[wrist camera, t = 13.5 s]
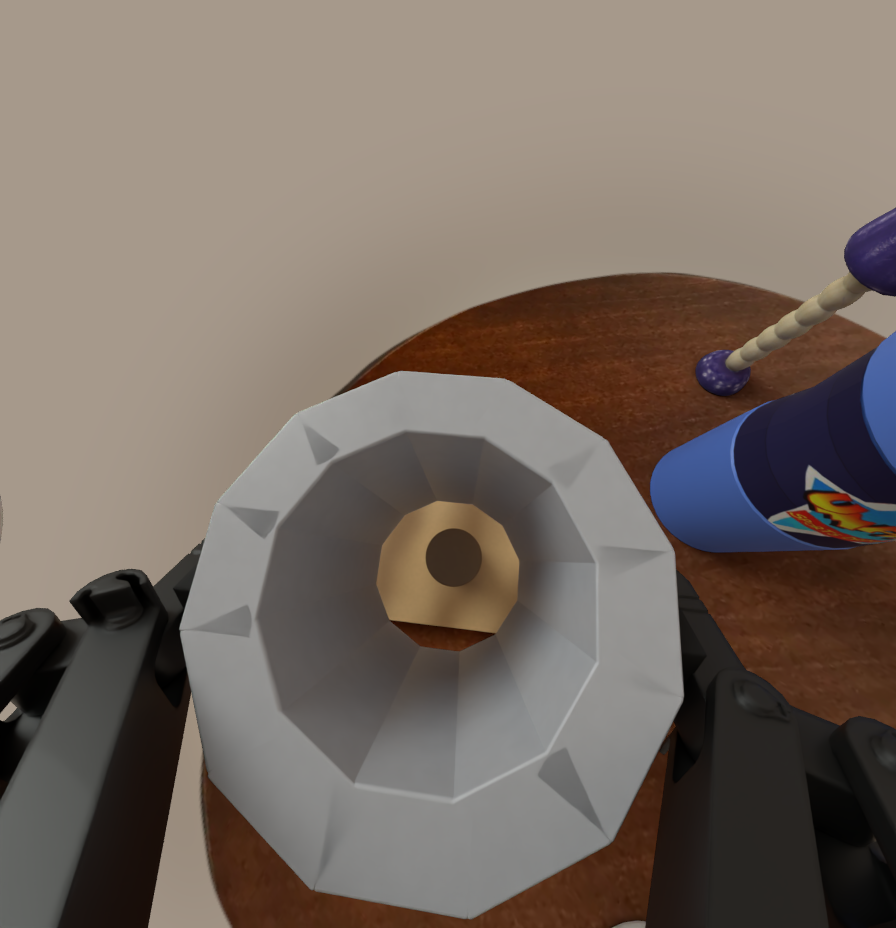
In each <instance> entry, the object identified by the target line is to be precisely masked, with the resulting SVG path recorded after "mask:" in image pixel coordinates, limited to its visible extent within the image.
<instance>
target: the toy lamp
mask: <svg viewBox="0 0 896 928" xmlns="http://www.w3.org/2000/svg"><path fill="white" fill-rule="evenodd" d="M844 259H845V262H846V265H847V267H848V269H849V271H850V272H849V273H848V275H847V276H844V277H842V278H839V279H838V280H836V281H834V282H832V283H831V284H830V285H828V286H827V287H826V288H825V289H824V290H823V291H822V293H821V294H819V295H817V296H814V297H812V298H810V299H809V300H807V301H806V302H805V303H803V304H802V305H801V306H800V307H799V309H798V310H795V311H793V312H791V313H789V314H787V315H786V316H784V317H783V318H782V319H781V320H780V321H779V322H778V323H777V324H775V325H772V326H770V327H768V328H767V329H765V330H764V331H763V332H762V333H761V334H760V335H759V337H756V338H753V339H751V340H750V341H748V342H747V343H746V344H745V345H744V346H743V348H740V349H737V350H736V351H731V350H719V351H715V352H712V353H709V354H707V355H705V356H704V357H703V358H701V360H700V361H699V362H698V364H697V367H696V376H697V379H698V381H699V383H700V384H701V386H702V387H703V388H705V389H706V390H707V391H709V392H711V393H713V394H716V395H721V396H728V395H732V394H735V393H737V392H738V391H740V390H741V389H742V388H743V387H744V386H745V384H746V383H747V381H748V380H749V377H750V370H751V369H750V366H751V365H752V364H753V363H754V362H755V361H757V360H760V359H762V358H764V357H766V356H767V355H768V354H770V353H771V351H773V350H776V349H779V348H781V347H783V346H784V345H786V344H787V343H788V342H789V341H790V340H791V339H793V338H796V337H799V336H801V335H803V334H804V333H806V332H807V331H808V330H810V329H811V328H812V326H813V325H816V324H818V323H821V322H823V321H825V320H826V319H828V318H830V317H831V316H832V315H833V314H834V313H835V312H836V311H837V310H839V309H842V308H845V307H847V306H849V305H851V304H852V303H854V302H855V301H857V300H858V299H859V298H861V296H862V295H863V294H864V293H865V292H868V291H871V290H873V291H876V292H878V293H880V294H882V295H889V296H896V208H894V209H893V210H891V211H889V212H887V213H885V214H884V215H882V216H880V217H878V218H876V219H874V220H873V221H871V222H869V223H868V224H866V225H865V226H863V227H862V228H860V229H859V230H858V231H857V232H855V233H854V234H853V235H852V236H851V238H850V239H849V240H848V243H847V245H846V247H845V251H844Z"/></svg>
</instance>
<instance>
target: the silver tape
mask: <svg viewBox="0 0 896 928" xmlns="http://www.w3.org/2000/svg"><path fill="white" fill-rule="evenodd" d="M436 501H443V502H453V503H463V504H473V505H474V506H476V507H477V508H478V509H480V510H481V511H483V512H484V513H485V514H487V515H488V516H490V517H491V518H493V519H494V520H495V521H497V522H498V523H500V524H501V525H502V526H503V528H504V530H505V532H506V534H507V536H508V538H509V540H510V542H511V544H512V546H513V548H514V550H515V553H516V555H517V557H518V559H519V576H518V596H517V602H516V603H515V605H514V606H513V608H512V609H511V611H510V612H509V614H508V616H507V617H506V619H505V620H504V622H503V623H502V625H501V627H500V628H499V630H498V631H497V633H496V634H495V635H493V636H491V637H489V638H487V639H485V640H483V641H481V642H479V643H476V644H474V645H472V646H470V647H468V648H466V649H464V650H462V651H460V652H458V651H450V650H442V649H435V648H427V647H420V646H419V645H418V644H417V643H416V642H414V641H413V640H412V639H411V638H410V637H408V636H407V635H406V634H405V633H404V632H402V631H401V630H400V629H399V628H398V627H396V626H395V625H394V624H393V623H392V622H390V621H389V618H388V615H387V613H386V610H385V607H384V604H383V601H382V599H381V596H380V593H379V590H378V588H377V585H376V582H377V575H378V569H379V562H380V556H381V549H382V545H383V543H384V542H385V541H386V539H387V538H388V537H389V535H390V534H391V533H392V531H393V530H394V529H395V527H396V526H397V525H398V523H399V522H400V521H401V519H402V518H403V517H404V515H407V514H409V513H411V512H413V511H416V510H418V509H420V508H422V507H425V506H427V505H429V504H431V503H434V502H436ZM179 630H180V631H181V632H180V637H181V642H182V647H183V652H184V657H185V662H186V667H187V672H188V677H189V682H190V687H191V692H192V697H193V702H194V708H195V712H196V718H197V723H198V728H199V733H200V738H201V743H202V748H203V753H204V758H205V763H206V768H207V772H208V773H209V774H208V778H209V779H210V780H211V781H212V782H213V783H214V785H215V786H216V787H217V788H218V789H219V790H220V791H221V792H222V793H223V794H224V795H225V797H226V798H227V799H228V800H229V801H230V802H231V803H232V804H233V805H234V806H235V808H236V809H237V810H238V811H239V812H240V813H241V814H242V815H243V816H244V817H245V818H246V820H247V821H248V822H249V823H250V824H251V825H252V826H253V827H254V828H255V829H256V831H257V832H258V833H259V834H260V835H261V836H262V837H263V838H264V839H265V840H266V841H267V843H268V844H269V845H270V846H271V847H272V848H273V849H274V850H275V851H276V852H277V853H278V855H279V856H280V857H281V858H282V859H283V860H284V861H285V862H286V863H287V864H288V866H289V867H290V868H291V869H292V870H293V871H294V872H295V873H296V874H297V875H298V876H299V878H300V879H301V880H302V881H303V882H304V883H305V884H306V885H307V886H308V887H309V888H310V890H315V891H317V892H322V893H328V894H333V895H339V896H344V897H349V898H355V899H360V900H365V901H371V902H376V903H381V904H387V905H392V906H398V907H403V908H408V909H414V910H419V911H424V912H430V913H435V914H440V915H446V916H451V917H457V918H462V919H468V918H469V919H473V918H475V917H477V916H479V915H481V914H482V913H484V912H486V911H488V910H490V909H492V908H493V907H495V906H497V905H499V904H501V903H503V902H504V901H506V900H508V899H510V898H512V897H514V896H516V895H517V894H519V893H521V892H523V891H525V890H527V889H528V888H530V887H532V886H534V885H536V884H538V883H540V882H541V881H543V880H545V879H547V878H549V877H551V876H552V875H554V874H556V873H558V872H560V871H562V870H563V869H565V868H567V867H569V866H571V865H573V864H575V863H576V862H578V861H580V860H582V859H584V858H586V857H587V856H589V855H591V854H593V853H595V852H597V851H599V850H600V849H602V848H604V847H606V846H608V845H610V844H611V842H613V841H614V839H615V837H616V835H617V833H618V831H619V829H620V827H621V825H622V823H623V821H624V819H625V817H626V815H627V813H628V811H629V809H630V807H631V805H632V803H633V801H634V799H635V797H636V795H637V793H638V791H639V789H640V787H641V785H642V783H643V781H644V779H645V777H646V775H647V773H648V771H649V769H650V767H651V765H652V763H653V761H654V759H655V757H656V755H657V753H658V751H659V749H660V747H661V745H662V743H663V741H664V739H665V737H666V735H667V733H668V731H669V729H670V727H671V725H672V723H673V721H674V719H675V717H676V715H677V713H678V711H679V709H680V707H681V705H682V703H683V698H684V686H683V671H682V655H681V640H680V624H679V609H678V593H677V578H676V562H675V552H674V549H673V547H672V546H671V544H670V542H669V541H668V539H667V537H666V536H665V534H664V532H663V531H662V529H661V528H660V526H659V524H658V523H657V521H656V519H655V518H654V516H653V514H652V513H651V511H650V510H649V508H648V506H647V505H646V503H645V501H644V500H643V498H642V497H641V495H640V493H639V492H638V490H637V488H636V487H635V485H634V483H633V482H632V480H631V479H630V477H629V475H628V474H627V472H626V470H625V469H624V467H623V465H622V464H621V462H620V461H619V459H618V457H617V456H616V454H615V452H614V451H613V449H612V447H611V446H610V444H609V443H608V441H607V440H605V439H604V438H603V437H601V436H599V435H598V434H596V433H594V432H593V431H591V430H590V429H588V428H586V427H585V426H583V425H581V424H580V423H578V422H576V421H575V420H573V419H572V418H570V417H568V416H567V415H565V414H563V413H562V412H560V411H558V410H557V409H555V408H553V407H552V406H550V405H549V404H547V403H545V402H544V401H542V400H540V399H539V398H537V397H535V396H534V395H532V394H531V393H529V392H527V391H526V390H524V389H522V388H521V387H519V386H517V385H516V384H514V383H512V382H511V381H509V380H506V379H502V378H489V377H475V376H462V375H448V374H435V373H421V372H408V371H399V372H395V373H392V374H390V375H387V376H385V377H382V378H380V379H378V380H375V381H373V382H370V383H368V384H365V385H363V386H361V387H358V388H356V389H353V390H351V391H348V392H346V393H344V394H341V395H339V396H336V397H334V398H332V399H329V400H327V401H324V402H322V403H319V404H317V405H315V406H312V407H310V408H307V409H305V410H302V411H300V412H298V413H297V414H295V415H293V417H292V418H291V419H290V420H289V421H288V422H287V423H286V425H285V426H284V427H283V428H282V429H281V430H280V431H279V432H278V433H277V435H276V436H275V437H274V438H273V439H272V440H271V441H270V442H269V443H268V445H267V446H266V447H265V448H264V449H263V450H262V451H261V453H260V454H259V455H258V456H257V457H256V458H255V459H254V460H253V462H252V463H251V464H250V465H249V466H248V467H247V468H246V469H245V471H244V472H243V473H242V474H241V475H240V476H239V477H238V478H237V479H236V480H235V482H234V483H233V484H232V485H231V486H230V487H229V488H228V489H227V491H226V492H225V493H224V494H223V495H222V496H221V497H220V498H219V499H218V501H217V503H216V504H215V507H214V510H213V514H212V517H211V520H210V524H209V528H208V531H207V534H206V538H205V541H204V544H203V548H202V551H201V555H200V558H199V562H198V565H197V569H196V572H195V576H194V579H193V583H192V586H191V590H190V593H189V596H188V600H187V603H186V607H185V610H184V614H183V617H182V621H181V624H180V628H179Z"/></svg>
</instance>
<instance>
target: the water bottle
mask: <svg viewBox="0 0 896 928" xmlns="http://www.w3.org/2000/svg"><path fill="white" fill-rule="evenodd" d="M650 494H651V499H652V504H653V506H654V509H655V511H656V514H657V515H658V517H659V519H660V520H661V522H662V523H663V525H664V526H665V527H666V528H667V529H668V530H669V531H670V532H671V533H672V534H673V535H674V536H675V537H677V538H678V539H679V540H680V541H682V542H684V543H686V544H688V545H689V546H691V547H694V548H697V549H700V550H703V551H708V552H715V553H716V552H765V551H803V550H836V549H850V548H854V547H858V546H864V545H870V544H877V543H883V542H889V541H896V331H895V332H894V333H893V334H892V335H890V336H889V337H888V338H887V339H885V340H884V341H883V342H882V343H881V344H880V345H879V346H878V347H877V348H875V349H873V350H872V351H870V352H869V353H867V354H865V355H864V356H862V357H861V358H859V359H858V360H856V361H854V362H853V363H851V364H850V365H848V366H846V367H845V368H843V369H842V370H840V371H838V372H837V373H835V374H834V375H832V376H830V377H829V378H827V379H826V380H824V381H823V382H821V383H819V384H818V385H816V386H815V387H812V388H809V389H806V390H803V391H800V392H798V393H795V394H792V395H789V396H786V397H783V398H780V399H777V400H774V401H770V402H767V403H765V404H762V405H760V406H758V407H756V408H754V409H752V410H750V411H748V412H746V413H744V414H742V415H740V416H738V417H736V418H734V419H732V420H730V421H728V422H726V423H724V424H722V425H720V426H718V427H716V428H714V429H712V430H710V431H709V432H707V433H705V434H703V435H701V436H699V437H697V438H695V439H693V440H691V441H689V442H687V443H685V444H683V445H681V446H679V447H677V448H675V449H674V450H672V451H670V452H669V453H667V454H666V455H665V456H663V457H662V459H661V460H660V461H659V462H658V464H657V465H656V467H655V469H654V471H653V474H652V478H651V483H650Z"/></svg>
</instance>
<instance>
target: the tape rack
mask: <svg viewBox="0 0 896 928" xmlns="http://www.w3.org/2000/svg"><path fill="white" fill-rule="evenodd" d="M518 576H519V559H518V557H517V555H516V553H515V550H514V548H513V546H512V544H511V542H510V540H509V538H508V536H507V534H506V532H505V530H504V528H503V526H502V525H501V524H500V523H498V522H497V521H495V520H494V519H493V518H491V517H490V516H488V515H487V514H485V513H484V512H483V511H481V510H480V509H478V508H477V507H476V506H474V505H473V504H463V503H453V502H443V501H436V502H434V503H431V504H429V505H427V506H425V507H422V508H420V509H418V510H416V511H413V512H411V513H409V514H407V515H404V517H403V518H402V519H401V521H400V522H399V523H398V525H397V526H396V527H395V529H394V530H393V531H392V533H391V534H390V535H389V537H388V538H387V539H386V541H385V542H384V543H383V545H382V549H381V556H380V562H379V569H378V575H377V582H376V585H377V588H378V590H379V593H380V596H381V599H382V601H383V604H384V607H385V610H386V613H387V615H388V618H389V620H393V621H401V622H409V623H417V624H425V625H433V626H441V627H450V628H458V629H466V630H474V631H482V632H490V633H497V631H498V630H499V628H500V627H501V625H502V623H503V622H504V620H505V619H506V617H507V616H508V614H509V612H510V611H511V609H512V608H513V606H514V605H515V603H516V602H517V596H518Z"/></svg>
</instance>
